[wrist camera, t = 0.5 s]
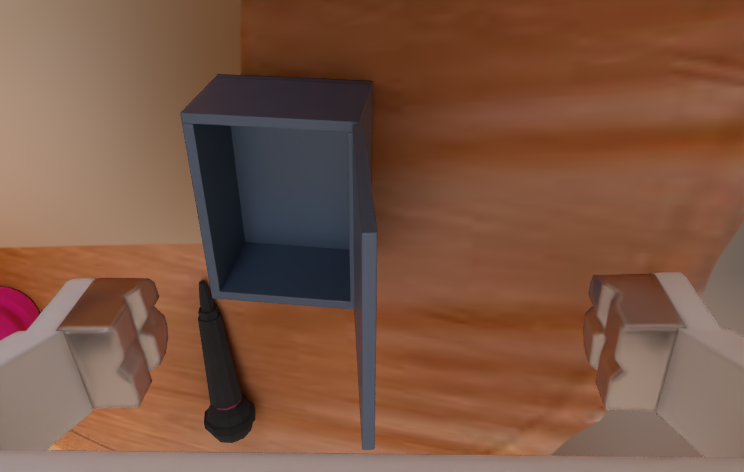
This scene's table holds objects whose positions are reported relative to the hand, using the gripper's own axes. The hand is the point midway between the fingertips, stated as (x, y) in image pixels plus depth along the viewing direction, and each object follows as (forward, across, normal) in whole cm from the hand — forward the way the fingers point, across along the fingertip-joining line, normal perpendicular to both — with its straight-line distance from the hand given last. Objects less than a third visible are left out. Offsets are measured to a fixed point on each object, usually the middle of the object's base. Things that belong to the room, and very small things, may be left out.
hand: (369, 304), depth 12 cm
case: (+40, +9, +16) cm, 44 cm away
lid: (+24, +3, +17) cm, 29 cm away
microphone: (+41, +19, +38) cm, 59 cm away
